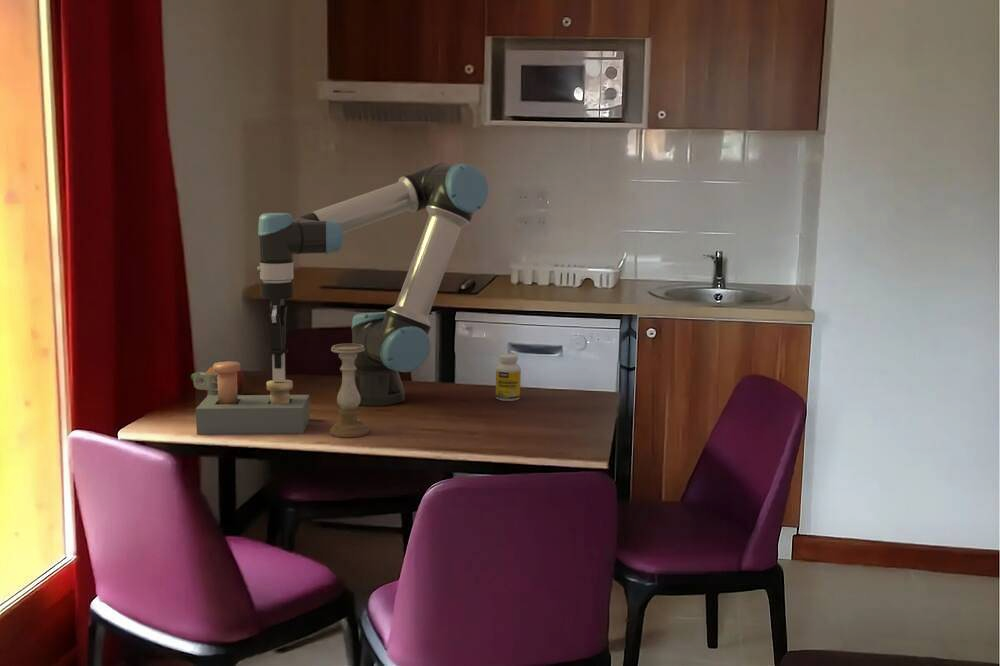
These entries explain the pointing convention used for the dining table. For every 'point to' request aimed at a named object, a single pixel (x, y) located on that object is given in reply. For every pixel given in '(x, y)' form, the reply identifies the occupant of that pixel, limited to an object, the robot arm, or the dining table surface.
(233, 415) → the socket board
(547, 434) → the dining table surface
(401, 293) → the robot arm
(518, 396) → the pill bottle
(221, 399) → the terracotta plug
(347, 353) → the candle holder
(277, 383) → the beech plug
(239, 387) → the fruit
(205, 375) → the mechanical component
